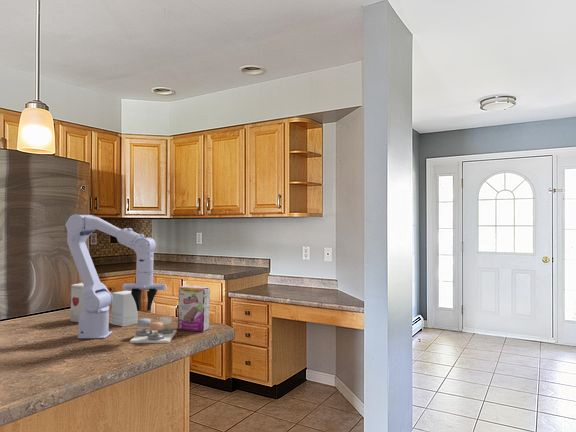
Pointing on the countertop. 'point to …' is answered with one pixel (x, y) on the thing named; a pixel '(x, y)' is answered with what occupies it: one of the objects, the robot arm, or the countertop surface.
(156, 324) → the terracotta button
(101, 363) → the countertop surface
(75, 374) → the countertop surface
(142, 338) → the panel
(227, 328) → the countertop surface
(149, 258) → the robot arm
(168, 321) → the cream button
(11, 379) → the countertop surface
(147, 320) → the slate button
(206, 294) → the candy bar box
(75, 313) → the supplement box
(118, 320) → the supplement box
